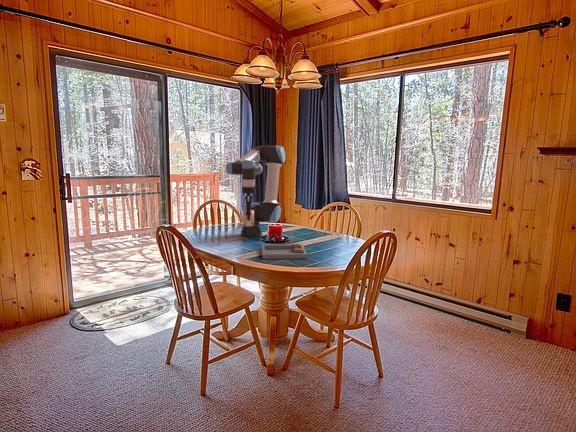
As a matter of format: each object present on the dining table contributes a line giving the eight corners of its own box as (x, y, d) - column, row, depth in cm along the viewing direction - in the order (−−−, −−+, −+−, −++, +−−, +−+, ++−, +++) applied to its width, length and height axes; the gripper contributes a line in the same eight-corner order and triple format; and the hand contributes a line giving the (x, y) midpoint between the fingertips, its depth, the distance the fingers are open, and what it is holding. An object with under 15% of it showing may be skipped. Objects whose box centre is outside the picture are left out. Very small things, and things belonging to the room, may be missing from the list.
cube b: (295, 254, 212) (295, 247, 212) (301, 254, 212) (302, 248, 211) (294, 256, 208) (294, 249, 208) (301, 256, 208) (301, 250, 207)
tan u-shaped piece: (243, 224, 222) (243, 209, 220) (254, 224, 222) (254, 209, 221) (243, 226, 216) (243, 211, 214) (253, 226, 216) (254, 211, 214)
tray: (261, 249, 223) (261, 244, 223) (302, 249, 226) (302, 244, 225) (262, 259, 203) (262, 254, 202) (307, 259, 205) (307, 254, 205)
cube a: (291, 250, 221) (292, 243, 221) (298, 249, 222) (298, 243, 222) (293, 251, 217) (293, 245, 217) (300, 251, 219) (300, 245, 218)
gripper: (242, 184, 224) (243, 221, 228) (241, 188, 205) (241, 228, 209) (255, 184, 224) (255, 221, 229) (254, 188, 206) (254, 228, 210)
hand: (248, 224), depth 219 cm, fingers closed on tan u-shaped piece, 6 cm apart
